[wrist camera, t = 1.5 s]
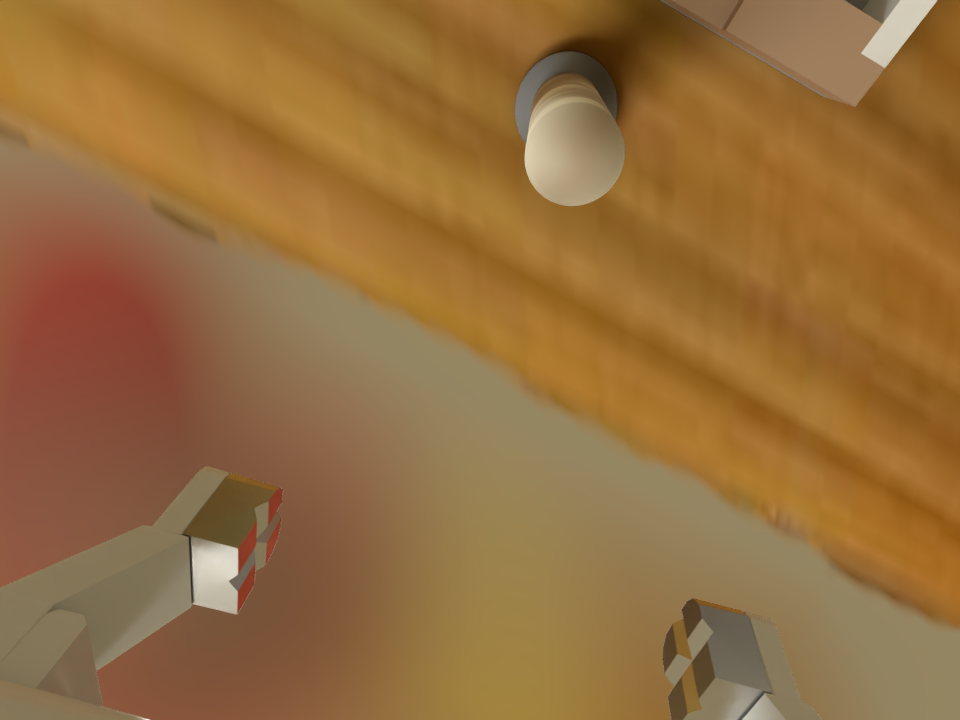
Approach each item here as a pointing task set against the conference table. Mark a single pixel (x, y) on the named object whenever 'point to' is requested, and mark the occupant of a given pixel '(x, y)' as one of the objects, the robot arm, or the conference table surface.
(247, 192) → the conference table surface
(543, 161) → the beige tall cylinder
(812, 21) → the keyhole dock
